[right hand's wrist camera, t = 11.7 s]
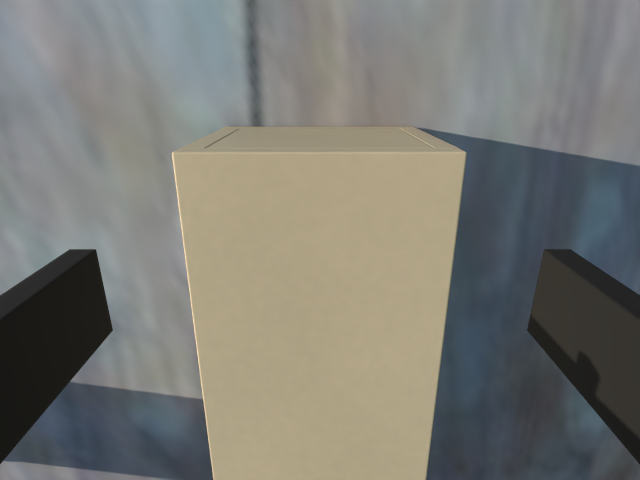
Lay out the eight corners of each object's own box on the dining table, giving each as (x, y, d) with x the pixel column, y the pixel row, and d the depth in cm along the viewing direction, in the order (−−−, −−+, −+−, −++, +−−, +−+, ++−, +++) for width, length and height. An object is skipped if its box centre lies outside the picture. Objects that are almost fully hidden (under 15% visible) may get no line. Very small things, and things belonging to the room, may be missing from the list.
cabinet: (392, 393, 32) (421, 518, 23) (246, 394, 32) (217, 518, 23) (413, 126, 25) (468, 151, 16) (225, 126, 25) (170, 152, 16)
